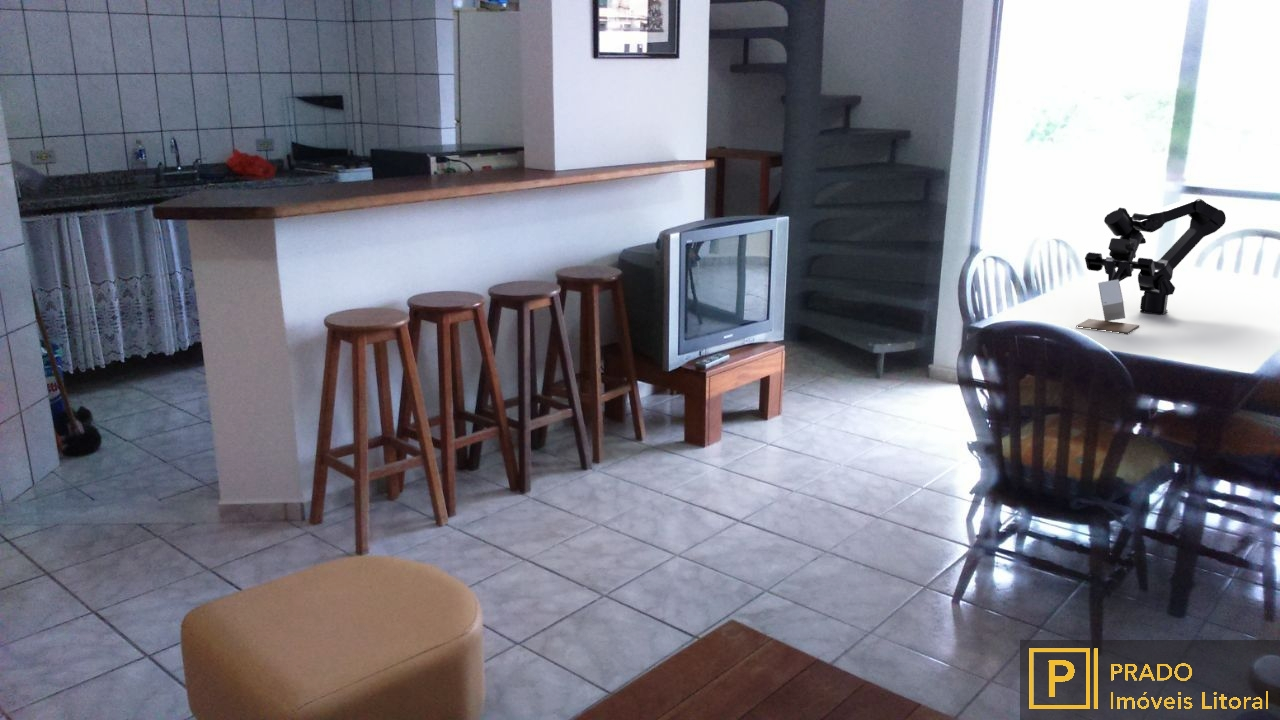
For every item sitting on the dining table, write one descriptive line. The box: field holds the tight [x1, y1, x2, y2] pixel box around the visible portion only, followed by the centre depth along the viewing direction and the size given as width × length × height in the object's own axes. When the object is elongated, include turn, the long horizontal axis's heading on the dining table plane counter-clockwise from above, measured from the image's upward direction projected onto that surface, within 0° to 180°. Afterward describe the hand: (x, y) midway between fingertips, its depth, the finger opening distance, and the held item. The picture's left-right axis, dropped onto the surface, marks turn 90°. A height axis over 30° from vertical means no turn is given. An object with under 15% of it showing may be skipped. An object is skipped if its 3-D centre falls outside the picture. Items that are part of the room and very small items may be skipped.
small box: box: [1097, 279, 1126, 321], centre depth 291 cm, size 8×6×10 cm
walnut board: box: [1075, 318, 1140, 335], centre depth 289 cm, size 14×12×1 cm
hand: (1110, 286), depth 292 cm, fingers closed
